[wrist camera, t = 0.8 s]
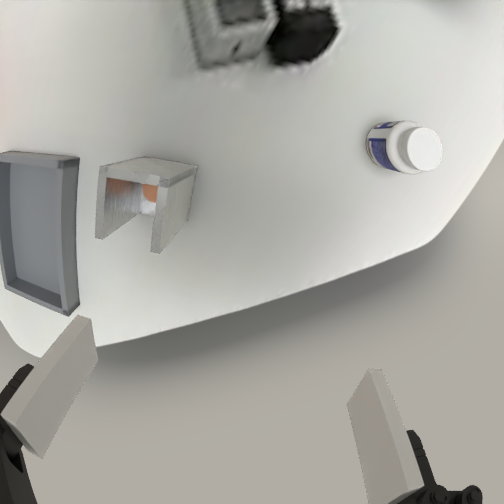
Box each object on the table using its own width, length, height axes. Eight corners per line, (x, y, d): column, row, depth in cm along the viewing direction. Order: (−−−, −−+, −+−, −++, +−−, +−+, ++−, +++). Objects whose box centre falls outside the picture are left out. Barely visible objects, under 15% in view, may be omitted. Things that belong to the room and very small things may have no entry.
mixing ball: (152, 167, 30) (140, 168, 26) (181, 172, 30) (172, 173, 26) (147, 197, 31) (134, 202, 27) (175, 203, 31) (166, 208, 27)
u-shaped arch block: (144, 156, 30) (100, 166, 21) (197, 165, 30) (169, 177, 21) (137, 209, 32) (95, 237, 23) (187, 220, 33) (159, 253, 23)
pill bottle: (395, 175, 30) (435, 189, 21) (358, 155, 29) (391, 162, 21) (411, 136, 28) (455, 139, 19) (375, 114, 27) (412, 108, 19)
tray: (10, 151, 29) (-6, 154, 26) (79, 157, 30) (63, 160, 27) (16, 279, 37) (4, 288, 34) (79, 304, 38) (68, 316, 35)
